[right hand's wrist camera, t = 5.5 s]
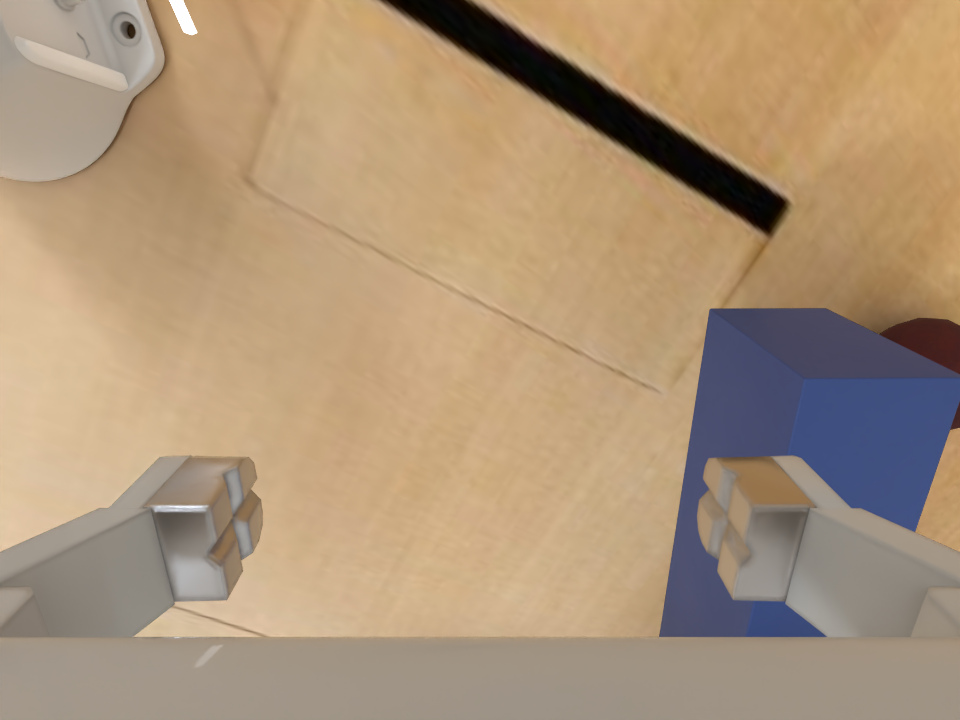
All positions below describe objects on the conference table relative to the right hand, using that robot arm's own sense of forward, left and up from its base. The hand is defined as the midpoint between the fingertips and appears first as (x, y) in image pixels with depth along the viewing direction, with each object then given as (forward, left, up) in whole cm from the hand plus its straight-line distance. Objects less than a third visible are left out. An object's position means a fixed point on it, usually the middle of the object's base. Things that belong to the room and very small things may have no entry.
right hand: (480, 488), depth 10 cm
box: (+16, +15, -20) cm, 30 cm away
